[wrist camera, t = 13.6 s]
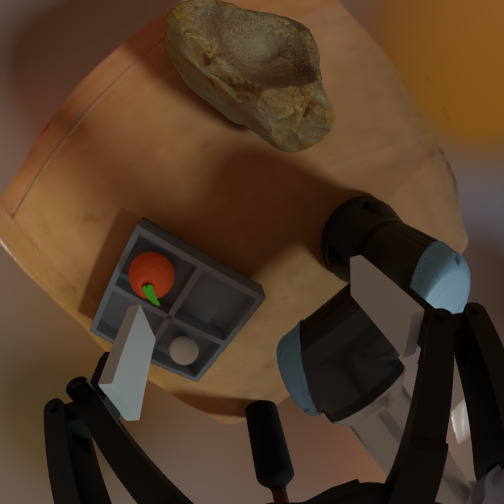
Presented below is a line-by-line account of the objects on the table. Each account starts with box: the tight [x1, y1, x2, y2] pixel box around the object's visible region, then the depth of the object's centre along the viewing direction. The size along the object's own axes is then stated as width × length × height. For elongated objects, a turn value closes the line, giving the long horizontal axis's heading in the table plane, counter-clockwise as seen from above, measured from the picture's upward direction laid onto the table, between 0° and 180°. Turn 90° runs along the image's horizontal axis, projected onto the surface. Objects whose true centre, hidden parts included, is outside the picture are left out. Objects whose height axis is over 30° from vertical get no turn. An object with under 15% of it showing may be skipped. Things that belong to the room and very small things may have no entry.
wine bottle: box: [245, 401, 294, 503], centre depth 45 cm, size 8×8×30 cm
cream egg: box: [169, 336, 199, 365], centre depth 45 cm, size 5×5×5 cm
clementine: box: [128, 252, 174, 306], centre depth 39 cm, size 8×7×7 cm
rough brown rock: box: [163, 0, 334, 153], centre depth 28 cm, size 23×17×15 cm
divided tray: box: [90, 217, 266, 382], centre depth 44 cm, size 22×22×4 cm
